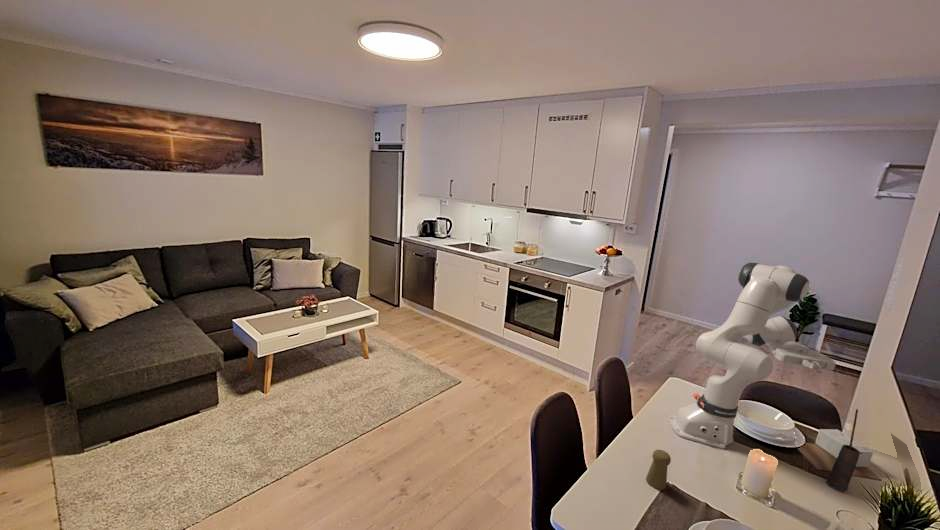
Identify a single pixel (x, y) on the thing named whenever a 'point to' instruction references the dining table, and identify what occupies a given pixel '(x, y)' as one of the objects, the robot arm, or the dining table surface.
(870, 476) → the walnut mat
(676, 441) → the dining table surface
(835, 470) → the butter churn
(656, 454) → the olive pepper mill
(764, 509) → the dining table surface
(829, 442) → the small box
